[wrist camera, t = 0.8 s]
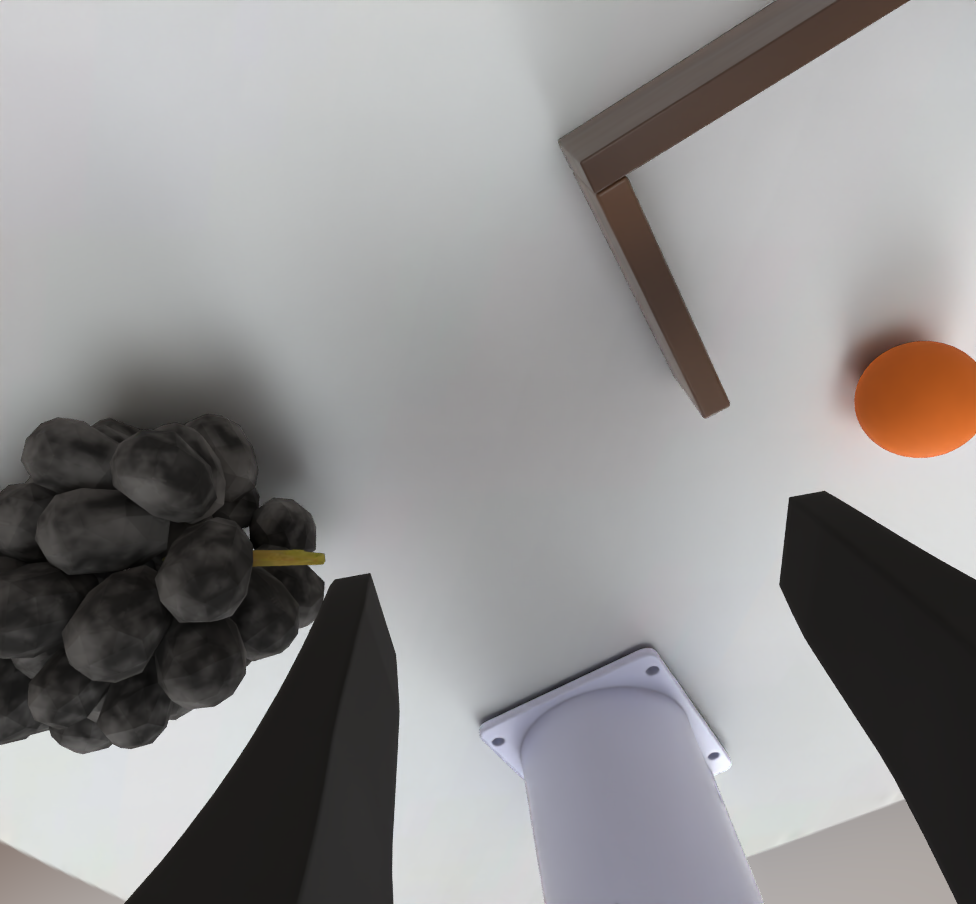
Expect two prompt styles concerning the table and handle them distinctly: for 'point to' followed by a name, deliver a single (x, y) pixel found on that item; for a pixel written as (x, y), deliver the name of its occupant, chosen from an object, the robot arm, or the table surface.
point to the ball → (918, 399)
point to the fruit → (141, 578)
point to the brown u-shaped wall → (672, 118)
